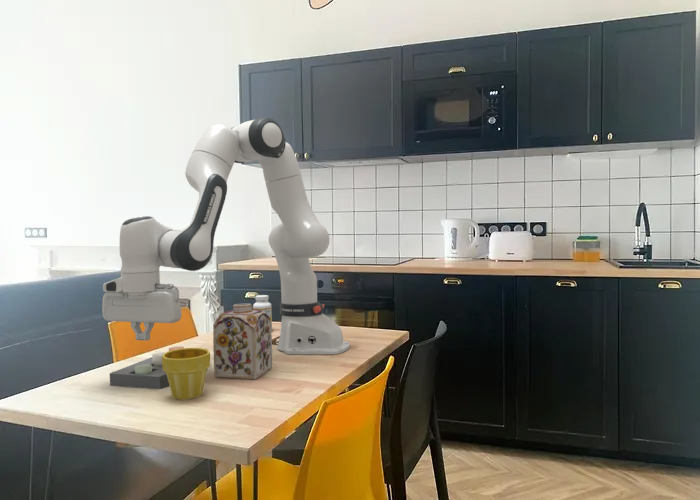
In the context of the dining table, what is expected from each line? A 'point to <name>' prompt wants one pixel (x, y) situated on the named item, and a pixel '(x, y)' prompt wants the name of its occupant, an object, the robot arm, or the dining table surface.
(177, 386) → the plant pot
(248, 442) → the dining table surface
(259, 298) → the supplement bottle
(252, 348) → the decorative jar
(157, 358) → the ivory button
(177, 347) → the terracotta button
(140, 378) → the button console
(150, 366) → the sage button
